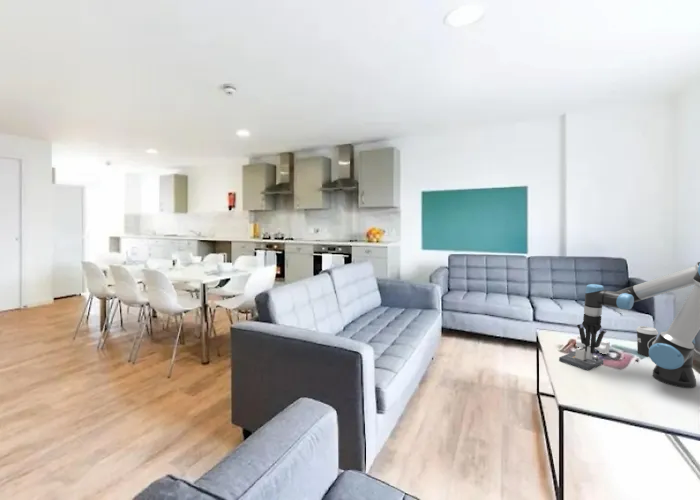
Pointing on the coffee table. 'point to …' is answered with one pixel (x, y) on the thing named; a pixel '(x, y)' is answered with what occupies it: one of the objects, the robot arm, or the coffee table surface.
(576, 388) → the coffee table surface
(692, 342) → the robot arm
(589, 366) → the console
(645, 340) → the coffee cup
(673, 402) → the coffee table surface
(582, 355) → the block
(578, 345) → the bone shaped toy
